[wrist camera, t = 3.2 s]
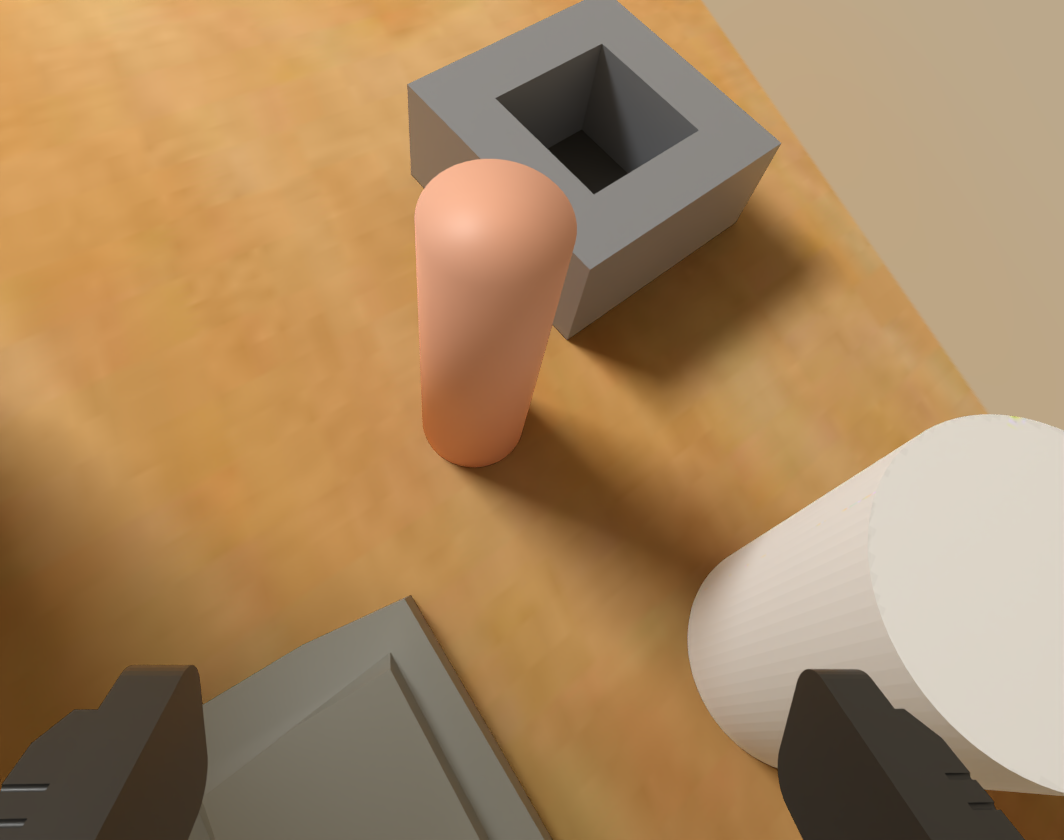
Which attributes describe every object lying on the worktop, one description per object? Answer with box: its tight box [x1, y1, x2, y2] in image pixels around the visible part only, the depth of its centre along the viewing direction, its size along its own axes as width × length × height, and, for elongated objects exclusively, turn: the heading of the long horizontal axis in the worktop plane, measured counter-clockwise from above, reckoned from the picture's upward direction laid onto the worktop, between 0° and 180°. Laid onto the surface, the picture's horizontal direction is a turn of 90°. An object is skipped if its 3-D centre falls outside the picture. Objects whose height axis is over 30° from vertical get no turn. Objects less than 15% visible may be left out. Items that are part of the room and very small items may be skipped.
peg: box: [415, 159, 577, 467], centre depth 23 cm, size 4×4×12 cm
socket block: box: [407, 0, 781, 340], centre depth 31 cm, size 11×11×5 cm
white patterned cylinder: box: [688, 414, 1064, 796], centre depth 21 cm, size 8×8×12 cm
